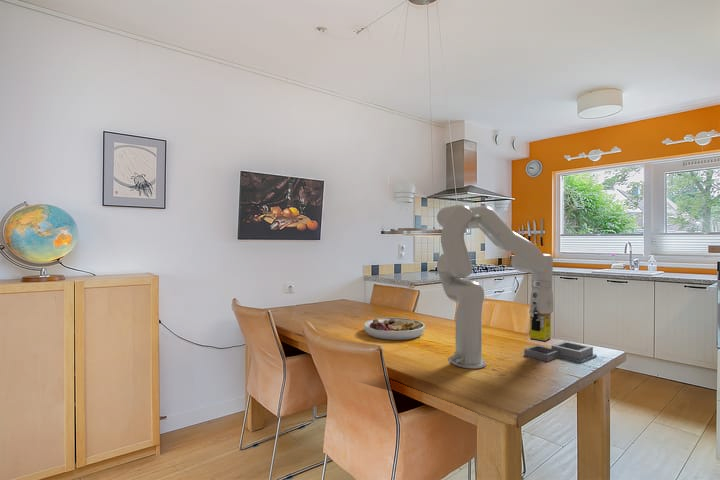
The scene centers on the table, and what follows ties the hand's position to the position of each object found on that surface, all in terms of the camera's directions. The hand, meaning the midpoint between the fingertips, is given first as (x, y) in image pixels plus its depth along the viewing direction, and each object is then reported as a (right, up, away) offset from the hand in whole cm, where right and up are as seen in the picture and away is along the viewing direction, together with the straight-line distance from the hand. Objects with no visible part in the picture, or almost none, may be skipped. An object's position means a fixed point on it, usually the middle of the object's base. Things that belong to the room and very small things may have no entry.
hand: (540, 329), depth 153 cm
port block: (+13, -11, +1) cm, 17 cm away
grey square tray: (+1, -11, 0) cm, 11 cm away
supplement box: (0, -5, 0) cm, 5 cm away
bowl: (-55, -11, +37) cm, 68 cm away
